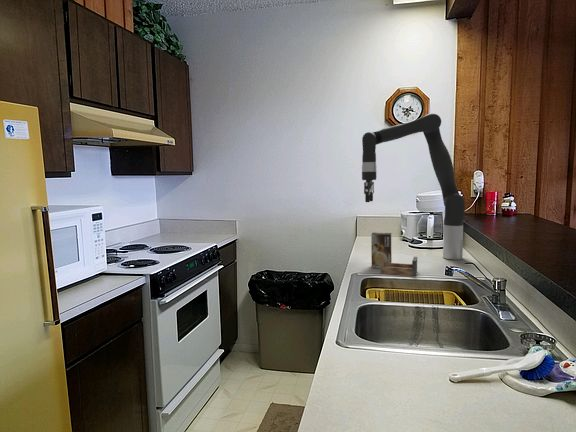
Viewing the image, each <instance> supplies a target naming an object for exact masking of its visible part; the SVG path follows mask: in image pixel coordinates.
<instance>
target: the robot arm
mask: <svg viewBox="0 0 576 432" xmlns="http://www.w3.org/2000/svg"><path fill="white" fill-rule="evenodd" d="M441 125H442V118H441V116H440V115H438V114H436V113H434V112H433V113H432V112H431V113H428V114H426V115H424V116H421V117H420V118H417V119H415V120H412V121H409V122H405V123H400V124H397V125H392V126H388V127H385V128H382V129H379V130H377V131H372V132H371V131H367V132H365V133H364V134H363V135H362V137H361V140H362V141H361V142H362V143H361V144H362V156H361V157H362V158H361V159H362V163H361V164H362V165H361V181H364V183H363V188H364V189H363V194H364V197H365V198H364V199H365V202H366V203H370V202H373V201H374V193H375V187H374V186H375V182H374V181H376V180H377V153H376V149H377V145H379V144H382V143H388V142H390V141H395V140H399V139H402V138H405V137H407V136H410V135H413V134H418V133H423V136H424V138H425V140H426V143H427V146H428V152H429V156H430V159H431V160H430V161H431V164H432V167H433V171H434V173H435V176H436V179H437V181H438V184H439V186H440V189H441V194H442V195H441V196H442V200H443V206H444V219H443V238H442V239H443V242H442V245H443V247H442V258H444V259H447V260H455V261H456V260H463V256H464V254H463V251H464V238H463V237H464V221H465V213H466V212H465V211H466V209H465V207H466V202H465V198H464V197H463V195H460V193H459V190H458V187H457V185H456V181H455V180H456V179H455V171H454V164H453V161H452V157H451V155H450V152H449V150H448V148H447V146H446V145H445V143H444V140H443V138H442V134H441V130H440V127H441Z"/></svg>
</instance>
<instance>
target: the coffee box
mask: <svg viewBox="0 0 576 432" xmlns="http://www.w3.org/2000/svg"><path fill="white" fill-rule="evenodd" d="M370 245H371V250H370V251H371V255H370V256H371V269H381V266H384V262H386V263H393V262H392V261H393V260H392V254H393V253H392V233H391V232H372V233H371V244H370Z"/></svg>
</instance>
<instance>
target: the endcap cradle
mask: <svg viewBox="0 0 576 432" xmlns="http://www.w3.org/2000/svg"><path fill="white" fill-rule="evenodd" d="M380 270H381V271H380V273H381V274H382V275H395V276H410V277H416V276H417V274H416V273H418V256H413V258H412V262H411V263H400V262H398V263H397V262H392V263H386V262H384V266H381V268H380Z"/></svg>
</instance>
